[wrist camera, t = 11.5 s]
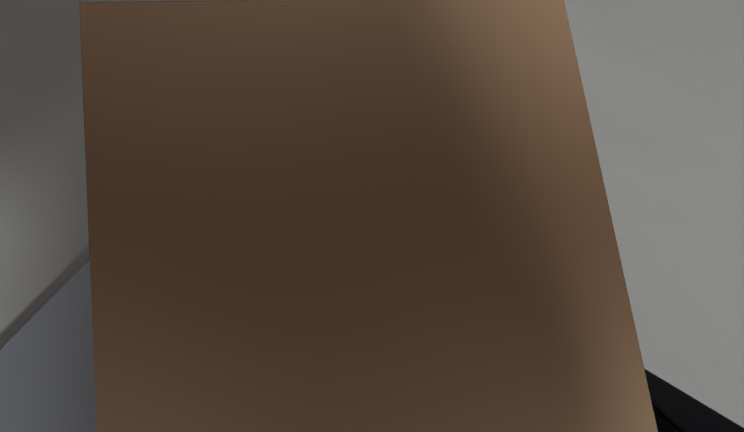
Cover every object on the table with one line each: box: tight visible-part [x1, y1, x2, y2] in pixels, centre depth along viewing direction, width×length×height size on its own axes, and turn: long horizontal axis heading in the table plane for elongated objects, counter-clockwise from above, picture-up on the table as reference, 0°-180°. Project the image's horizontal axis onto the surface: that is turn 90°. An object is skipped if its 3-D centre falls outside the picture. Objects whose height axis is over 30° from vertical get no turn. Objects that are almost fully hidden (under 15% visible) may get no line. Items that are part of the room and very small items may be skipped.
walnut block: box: [80, 0, 658, 432], centre depth 12 cm, size 5×5×13 cm
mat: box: [0, 259, 97, 432], centre depth 18 cm, size 14×11×1 cm
